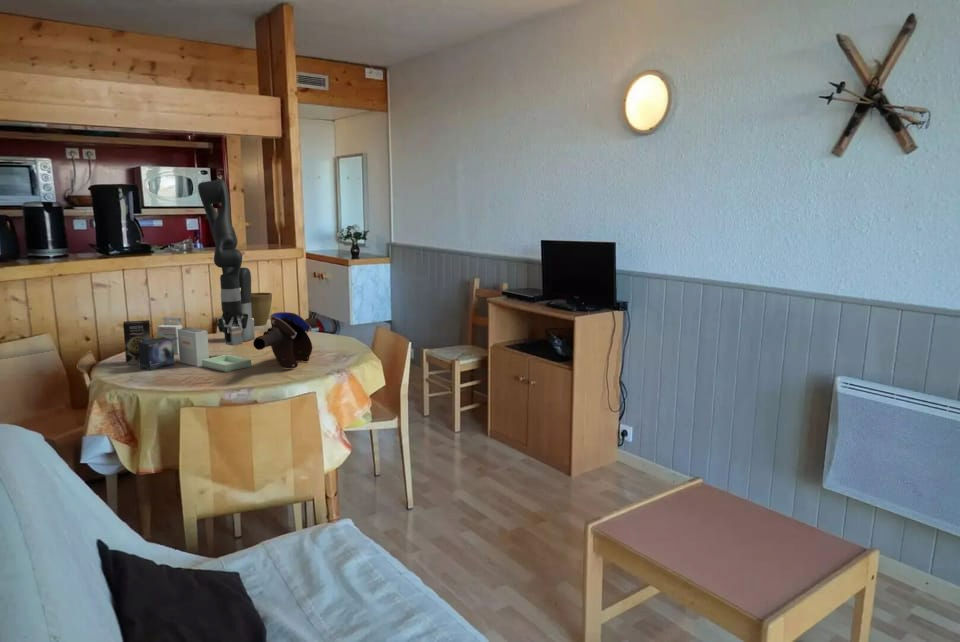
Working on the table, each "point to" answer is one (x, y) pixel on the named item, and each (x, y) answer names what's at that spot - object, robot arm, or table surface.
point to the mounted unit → (193, 346)
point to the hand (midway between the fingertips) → (233, 340)
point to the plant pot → (260, 307)
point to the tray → (226, 363)
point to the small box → (156, 353)
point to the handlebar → (288, 338)
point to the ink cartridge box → (170, 331)
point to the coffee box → (135, 339)
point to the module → (235, 336)
